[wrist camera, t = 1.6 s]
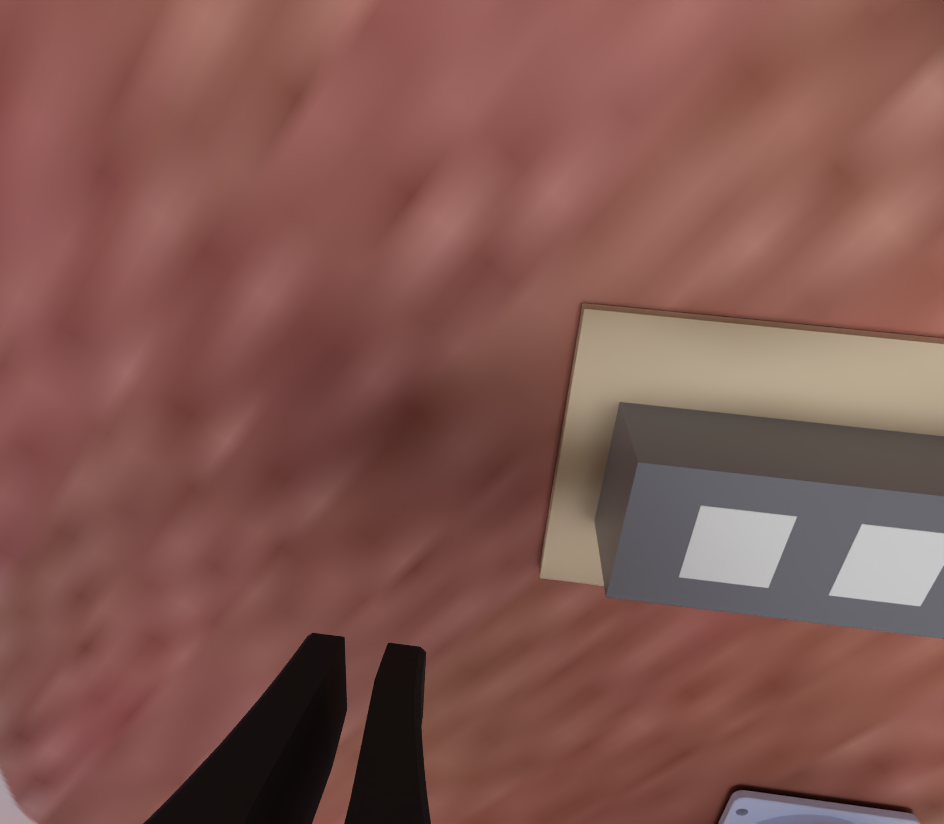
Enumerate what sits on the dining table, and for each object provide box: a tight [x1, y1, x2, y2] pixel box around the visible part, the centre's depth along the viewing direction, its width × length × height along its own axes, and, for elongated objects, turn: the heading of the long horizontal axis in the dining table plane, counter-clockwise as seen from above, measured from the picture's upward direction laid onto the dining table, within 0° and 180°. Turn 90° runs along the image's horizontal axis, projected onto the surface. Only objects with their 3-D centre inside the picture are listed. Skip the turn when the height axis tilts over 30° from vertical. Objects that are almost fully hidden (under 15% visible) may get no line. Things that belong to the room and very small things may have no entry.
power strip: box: [594, 402, 944, 639], centre depth 17 cm, size 4×14×4 cm, turn 86°
